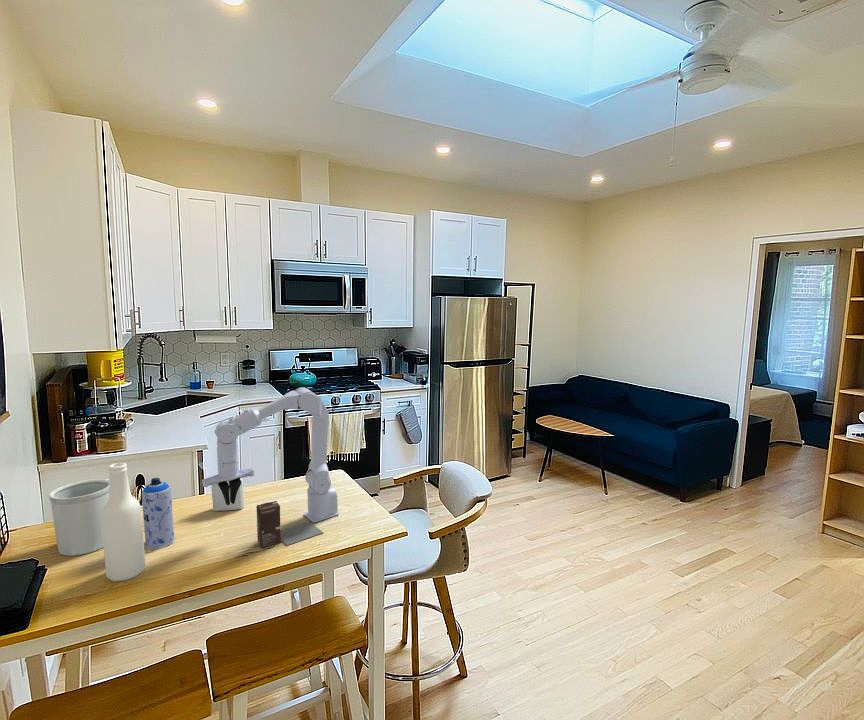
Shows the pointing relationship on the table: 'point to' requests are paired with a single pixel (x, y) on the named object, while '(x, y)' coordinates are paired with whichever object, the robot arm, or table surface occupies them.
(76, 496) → the utensil holder
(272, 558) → the table surface
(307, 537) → the mat
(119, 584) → the table surface
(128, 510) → the alcohol
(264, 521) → the box
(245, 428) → the robot arm
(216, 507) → the photo printer
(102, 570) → the table surface
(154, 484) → the aerosol can
